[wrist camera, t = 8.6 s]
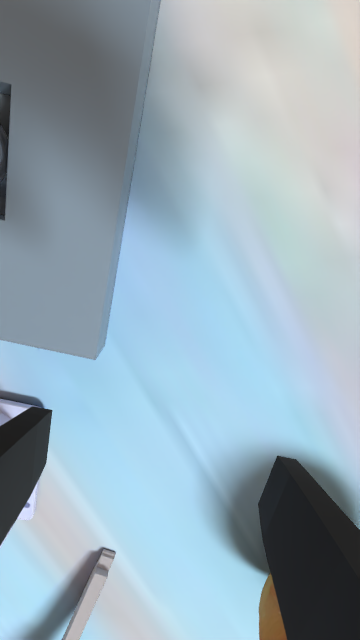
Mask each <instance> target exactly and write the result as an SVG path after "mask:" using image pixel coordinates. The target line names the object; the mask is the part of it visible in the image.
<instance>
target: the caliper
mask: <svg viewBox="0 0 360 640" xmlns="http://www.w3.org/2000/svg"><path fill="white" fill-rule="evenodd" d="M115 554H116V553H115V552H112V551H109V550H106V549H103V551H102V553H101V556H100V558H99V560H98V561H97V563H96V565H95V567H94V569H93V571H92V573H91V575H90V578H89V580H88V582H87V584H86V587H85V589H84V591H83V593H82V596H81V598H80V600H79V602H78V605H77V607H76V609H75V611H74V614H73V616H72V618H71V620H70V623H69V625H68V627H67V629H66V632H65V634H64V636H63V638H62V640H79V639H80V637H81V634H82V632H83V630H84V628H85V625H86V623H87V621H88V619H89V617H90V614H91V612H92V610H93V608H94V606H95V603H96V601H97V599H98V597H99V594H100V592H101V590H102V588H103V586H104V583H105V581H106V579H107V576H108V571H109V569H110V567H111V564H112V562H113V560H114V557H115Z"/></svg>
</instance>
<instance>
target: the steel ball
mask: <svg viewBox="0 0 360 640" xmlns="http://www.w3.org/2000/svg"><path fill="white" fill-rule="evenodd" d="M8 146H9V140H8V138H7V135H6V133H5V131H4V129H3V127H2V126H1V124H0V182H1V181H2V180H3V179H4V177H5V176H6V174H7V166H8Z"/></svg>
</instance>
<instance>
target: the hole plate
mask: <svg viewBox="0 0 360 640" xmlns="http://www.w3.org/2000/svg"><path fill="white" fill-rule="evenodd" d="M159 7H160V0H0V93H3V94H7V95H11V104H10V125H9V146H8V166H7V187H6V208H5V216H4V215H0V340H3V341H8V342H13V343H18V344H22V345H27V346H32V347H37V348H41V349H46V350H51V351H55V352H60V353H65V354H70V355H74V356H79V357H84V358H89V359H93V360H96V358H97V357H98V355H99V354H100V352H101V351H102V349H103V347H104V346H105V340H106V334H107V328H108V322H109V316H110V309H111V303H112V297H113V291H114V285H115V278H116V272H117V266H118V260H119V254H120V248H121V241H122V235H123V229H124V223H125V217H126V210H127V204H128V198H129V192H130V186H131V180H132V173H133V167H134V161H135V155H136V149H137V143H138V136H139V130H140V124H141V118H142V112H143V105H144V99H145V93H146V87H147V81H148V75H149V68H150V62H151V56H152V50H153V44H154V37H155V31H156V25H157V19H158V13H159Z"/></svg>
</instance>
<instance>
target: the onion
mask: <svg viewBox="0 0 360 640" xmlns="http://www.w3.org/2000/svg"><path fill="white" fill-rule="evenodd" d="M259 639H260V640H287V637H286V633H285V629H284V625H283V621H282V616H281V612H280V608H279V604H278V600H277V596H276V592H275V588H274V584H273V580H272V576H271V572H270V574H269V576H268V578H267V580H266V582H265V585H264V587H263V590H262V593H261V598H260V604H259Z"/></svg>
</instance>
